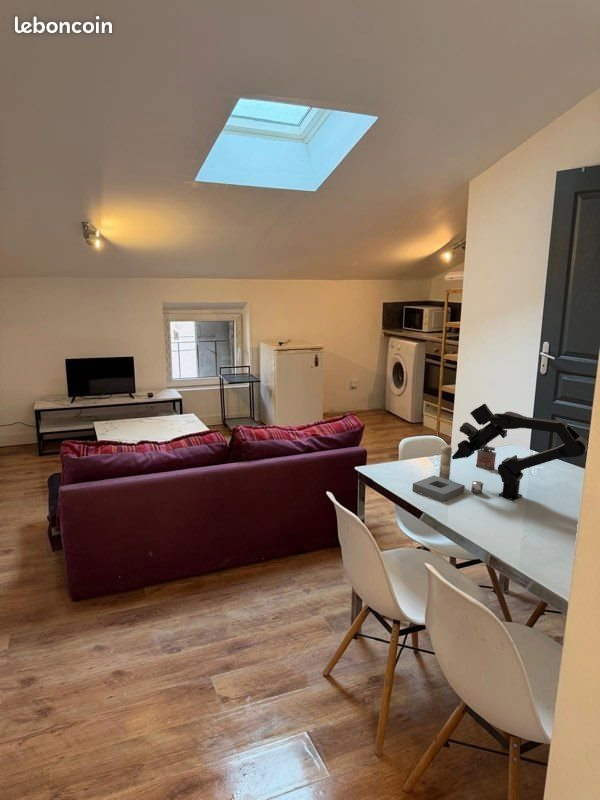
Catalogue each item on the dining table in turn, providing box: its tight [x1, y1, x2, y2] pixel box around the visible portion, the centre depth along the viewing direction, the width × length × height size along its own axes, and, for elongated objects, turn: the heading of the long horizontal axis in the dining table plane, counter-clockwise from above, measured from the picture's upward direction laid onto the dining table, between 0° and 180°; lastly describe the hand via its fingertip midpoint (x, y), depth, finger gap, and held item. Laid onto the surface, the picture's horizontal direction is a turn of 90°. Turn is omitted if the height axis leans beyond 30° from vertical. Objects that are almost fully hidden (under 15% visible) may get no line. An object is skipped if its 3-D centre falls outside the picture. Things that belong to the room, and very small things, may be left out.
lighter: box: [475, 444, 497, 471], centre depth 230 cm, size 8×3×10 cm, turn 55°
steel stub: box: [471, 480, 484, 496], centre depth 203 cm, size 4×4×4 cm
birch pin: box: [438, 445, 453, 480], centre depth 215 cm, size 4×4×14 cm
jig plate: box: [411, 475, 466, 502], centre depth 203 cm, size 14×14×3 cm
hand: (456, 455), depth 211 cm, fingers open, 9 cm apart
